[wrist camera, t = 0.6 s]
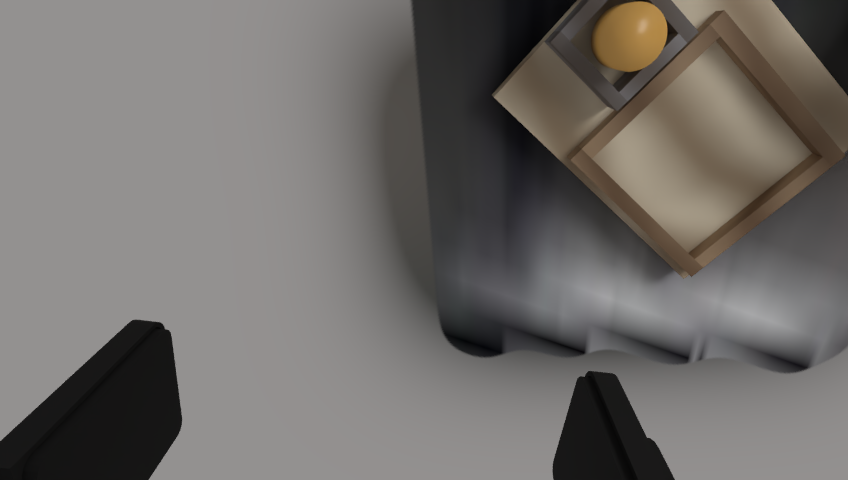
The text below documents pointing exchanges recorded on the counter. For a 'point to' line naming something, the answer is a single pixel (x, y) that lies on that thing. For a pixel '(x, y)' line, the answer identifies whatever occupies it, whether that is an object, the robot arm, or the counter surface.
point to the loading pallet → (686, 121)
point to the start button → (629, 36)
